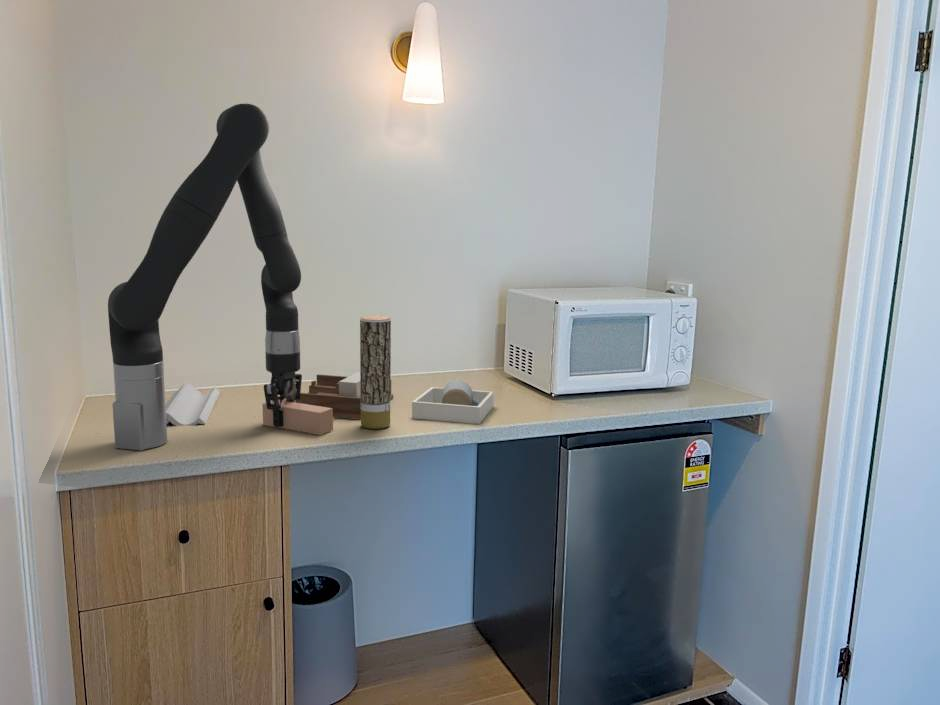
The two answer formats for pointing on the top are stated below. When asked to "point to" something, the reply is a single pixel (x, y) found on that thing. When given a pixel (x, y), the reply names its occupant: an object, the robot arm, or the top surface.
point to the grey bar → (350, 386)
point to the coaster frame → (451, 407)
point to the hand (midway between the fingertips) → (284, 422)
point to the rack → (332, 397)
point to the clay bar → (302, 417)
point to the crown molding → (190, 406)
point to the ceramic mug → (458, 394)
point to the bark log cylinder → (375, 371)
